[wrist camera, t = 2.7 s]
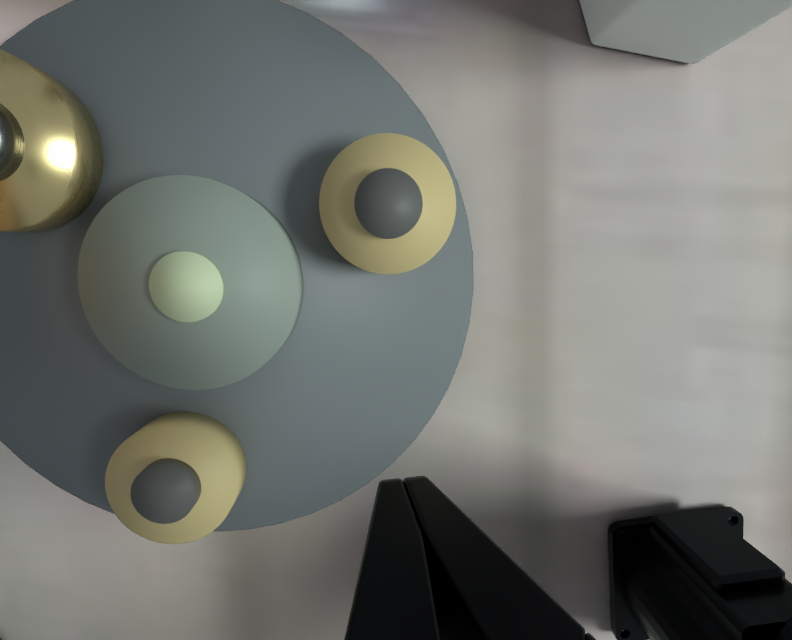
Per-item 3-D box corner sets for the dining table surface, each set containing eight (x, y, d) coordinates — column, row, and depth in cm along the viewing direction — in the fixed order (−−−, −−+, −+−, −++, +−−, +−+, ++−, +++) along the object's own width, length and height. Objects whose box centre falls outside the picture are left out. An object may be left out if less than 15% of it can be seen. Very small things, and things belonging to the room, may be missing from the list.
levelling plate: (486, 483, 21) (507, 528, 17) (20, 543, 20) (-52, 602, 17) (443, -26, 17) (459, -94, 14) (-124, 29, 16) (-253, -28, 13)
